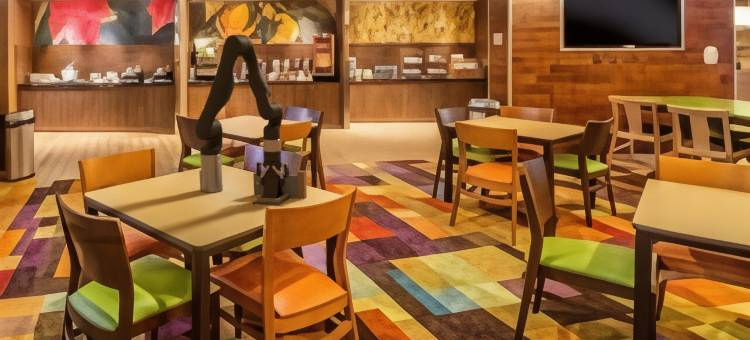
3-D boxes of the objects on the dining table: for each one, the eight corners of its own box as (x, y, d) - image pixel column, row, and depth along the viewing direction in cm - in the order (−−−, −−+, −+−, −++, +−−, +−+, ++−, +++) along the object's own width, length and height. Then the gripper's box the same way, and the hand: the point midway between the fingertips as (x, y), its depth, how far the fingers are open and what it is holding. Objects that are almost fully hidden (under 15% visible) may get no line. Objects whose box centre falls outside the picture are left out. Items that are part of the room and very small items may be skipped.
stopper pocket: (252, 203, 264) (252, 199, 264) (265, 196, 278) (265, 191, 277) (279, 205, 262) (279, 200, 261) (290, 197, 275) (290, 193, 275)
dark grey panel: (253, 195, 278) (252, 169, 275) (256, 194, 281) (255, 168, 279) (303, 199, 272) (303, 172, 270) (306, 197, 276) (306, 170, 274)
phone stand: (275, 201, 266) (274, 174, 264) (262, 200, 267) (261, 173, 265) (283, 196, 275) (282, 169, 272) (270, 195, 276) (270, 169, 274)
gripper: (253, 150, 265) (254, 187, 268) (284, 151, 261) (285, 189, 265) (260, 147, 272) (261, 183, 275) (290, 148, 269) (291, 185, 272)
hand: (273, 186), depth 270 cm, fingers open, 8 cm apart
